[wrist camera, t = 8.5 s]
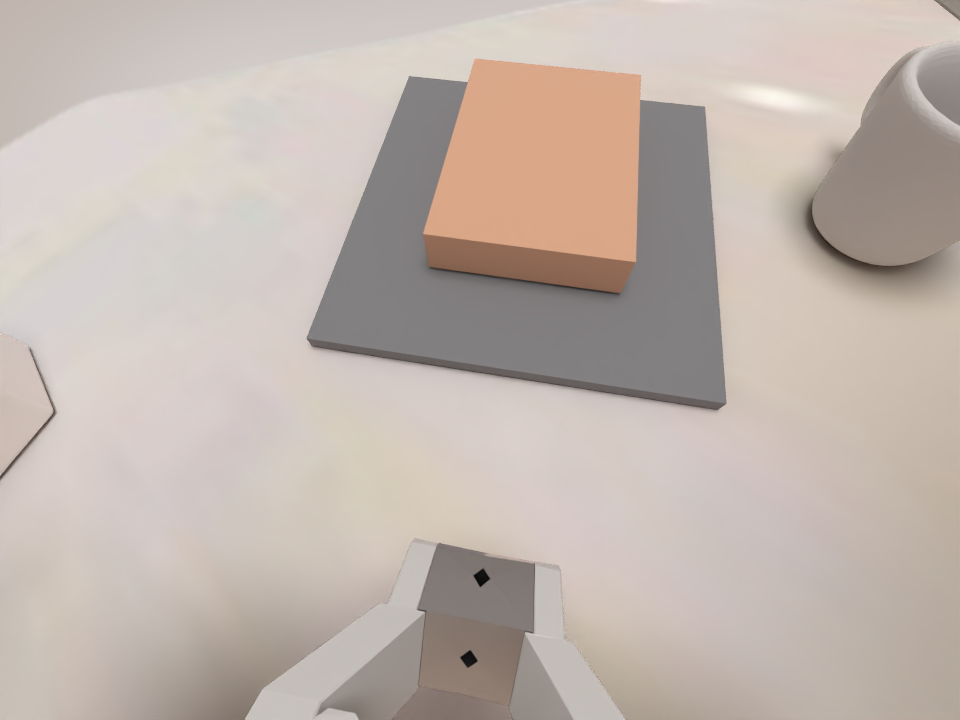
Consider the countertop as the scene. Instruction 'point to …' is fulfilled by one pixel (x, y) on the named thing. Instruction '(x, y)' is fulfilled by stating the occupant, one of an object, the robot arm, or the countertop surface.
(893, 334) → the countertop surface
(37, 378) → the jar
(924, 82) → the cup
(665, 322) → the mat
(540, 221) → the peach rectangular block
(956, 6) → the skyscraper
